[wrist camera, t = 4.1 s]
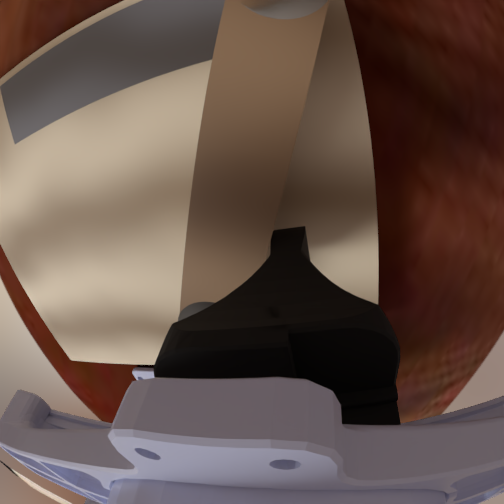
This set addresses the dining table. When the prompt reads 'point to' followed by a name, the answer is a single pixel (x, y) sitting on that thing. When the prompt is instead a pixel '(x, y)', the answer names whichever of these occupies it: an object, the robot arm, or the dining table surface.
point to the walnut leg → (246, 141)
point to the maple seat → (159, 171)
